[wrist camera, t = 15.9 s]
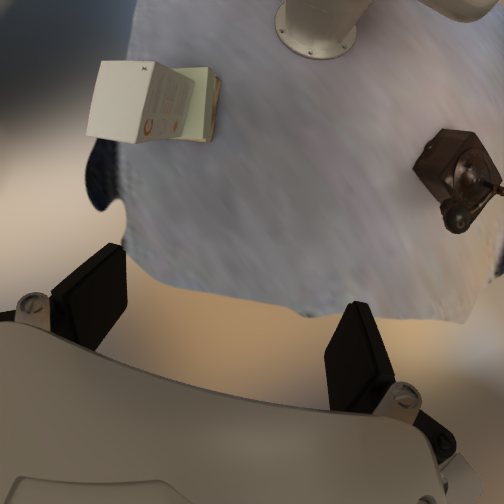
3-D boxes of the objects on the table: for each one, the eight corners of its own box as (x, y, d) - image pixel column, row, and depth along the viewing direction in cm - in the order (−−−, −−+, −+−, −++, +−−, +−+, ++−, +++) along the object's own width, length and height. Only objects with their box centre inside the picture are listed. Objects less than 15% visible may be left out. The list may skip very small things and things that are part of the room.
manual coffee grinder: (440, 123, 34) (510, 130, 18) (473, 169, 36) (539, 194, 20) (389, 187, 40) (445, 223, 24) (426, 228, 42) (481, 277, 26)
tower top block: (151, 76, 33) (139, 72, 30) (215, 72, 33) (208, 67, 29) (147, 137, 38) (135, 139, 34) (210, 138, 37) (202, 139, 34)
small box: (153, 75, 30) (100, 59, 18) (196, 80, 30) (156, 59, 18) (140, 130, 33) (83, 137, 22) (181, 138, 34) (136, 145, 22)
